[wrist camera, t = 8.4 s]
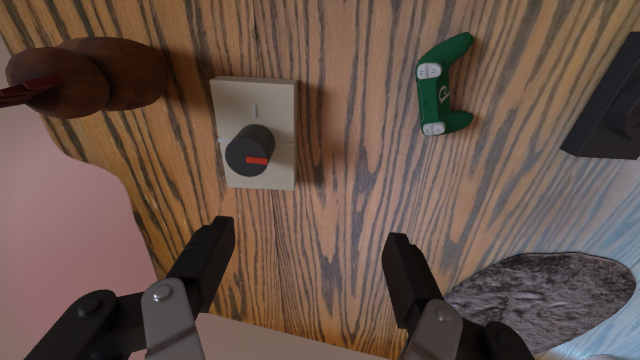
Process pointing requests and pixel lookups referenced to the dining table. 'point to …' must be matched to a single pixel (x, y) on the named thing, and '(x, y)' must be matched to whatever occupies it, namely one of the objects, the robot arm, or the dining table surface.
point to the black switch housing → (612, 111)
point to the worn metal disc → (545, 296)
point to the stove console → (263, 109)
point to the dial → (250, 150)
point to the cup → (600, 357)
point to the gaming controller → (440, 87)
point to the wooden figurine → (85, 77)
